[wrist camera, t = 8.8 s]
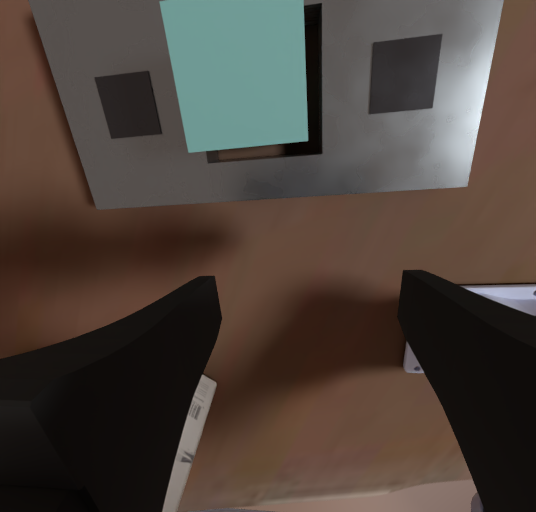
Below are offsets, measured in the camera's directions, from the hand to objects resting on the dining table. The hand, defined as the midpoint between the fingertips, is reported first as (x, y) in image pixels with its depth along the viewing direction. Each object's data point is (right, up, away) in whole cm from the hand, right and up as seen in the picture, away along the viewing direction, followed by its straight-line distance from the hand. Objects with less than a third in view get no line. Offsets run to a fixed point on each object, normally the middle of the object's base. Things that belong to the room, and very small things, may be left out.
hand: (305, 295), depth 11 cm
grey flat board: (-2, +11, +6) cm, 13 cm away
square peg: (-2, +11, +6) cm, 12 cm away
